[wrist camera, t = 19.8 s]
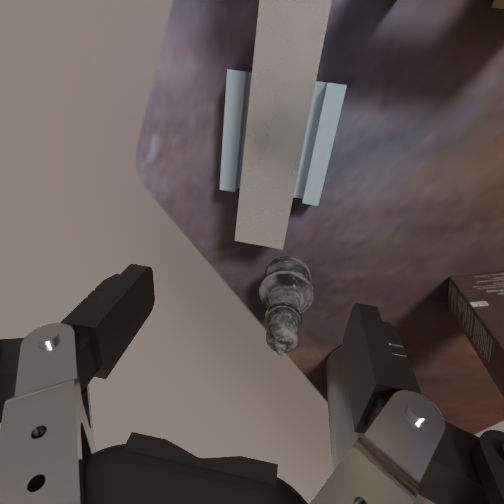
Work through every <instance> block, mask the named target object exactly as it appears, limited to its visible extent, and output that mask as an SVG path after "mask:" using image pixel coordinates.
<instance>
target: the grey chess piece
mask: <svg viewBox="0 0 504 504" xmlns="http://www.w3.org/2000/svg"><path fill="white" fill-rule="evenodd" d="M265 277H266V278H265V279H264V280H263V281H262V282H261V285H260V288H259V296H260V299H261V301H262V303H263V304H264V306H265V307H266V308H268V309H267V311H266V314H265V318H266V322H267V323H268V326H267V333H266V341H267V344H268V345H269V347H270V348H271V349H273V350H274V351H276V352H277V353H278V354H279V355H282V354H284V353H288V352H290V351H292V350H293V349H294V348H295V347H296V345H297V341H298V328H299V327H300V326H301V324H302V314H301V313H302V312H303V311H305V310H307V309H308V308H309V306H310V305H311V303H312V301H313V298H314V291H313V287H312V285H311V284H310V279H311V275H310V270H309V269H308V267H307V265H306V264H305V263H304V262H302V261H301V260H299V259H297V258H293V257H280V258H278V259H275V260H274V261H272V262H271V263H270V264H269V266H268V267H267V270H266V275H265Z"/></svg>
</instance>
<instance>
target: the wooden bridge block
mask: <svg viewBox="0 0 504 504" xmlns="http://www.w3.org/2000/svg"><path fill="white" fill-rule="evenodd" d="M491 8H499V9H504V0H494V1H493V4H492V6H491Z"/></svg>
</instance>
